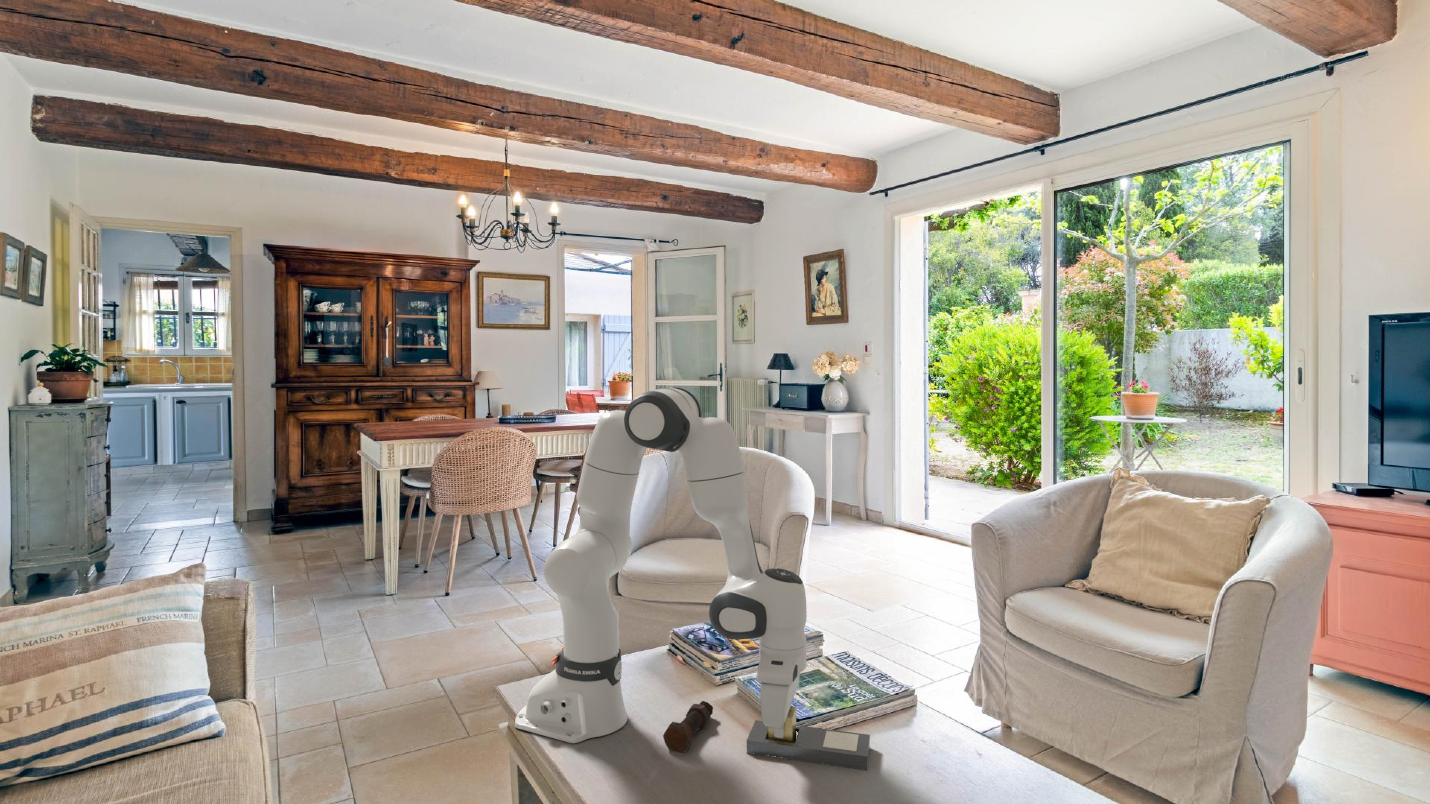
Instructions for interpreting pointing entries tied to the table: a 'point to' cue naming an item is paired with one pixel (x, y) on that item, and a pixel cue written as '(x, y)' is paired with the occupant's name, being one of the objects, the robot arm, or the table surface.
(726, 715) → the table surface
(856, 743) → the plate
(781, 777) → the table surface
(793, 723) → the tan block
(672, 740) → the bolt
